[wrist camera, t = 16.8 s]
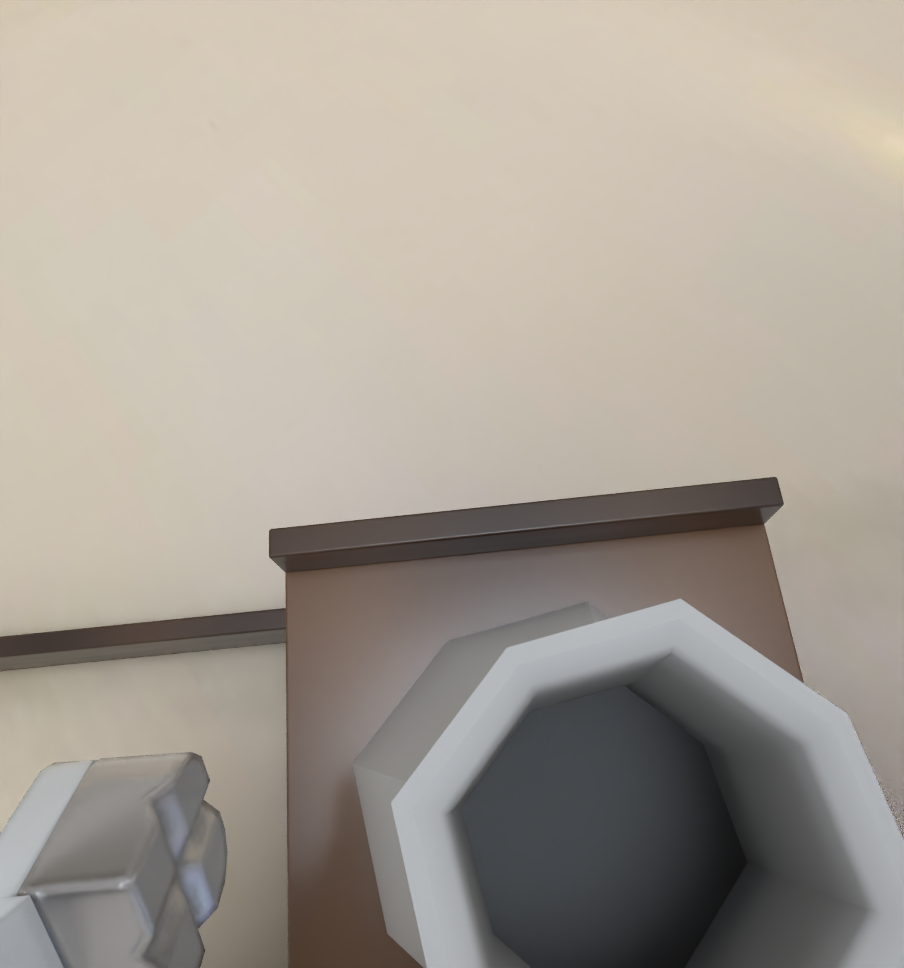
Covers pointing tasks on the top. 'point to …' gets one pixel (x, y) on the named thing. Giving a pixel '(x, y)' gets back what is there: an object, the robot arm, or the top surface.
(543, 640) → the flask
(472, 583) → the brown block with frame
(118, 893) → the robot arm
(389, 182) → the top surface
